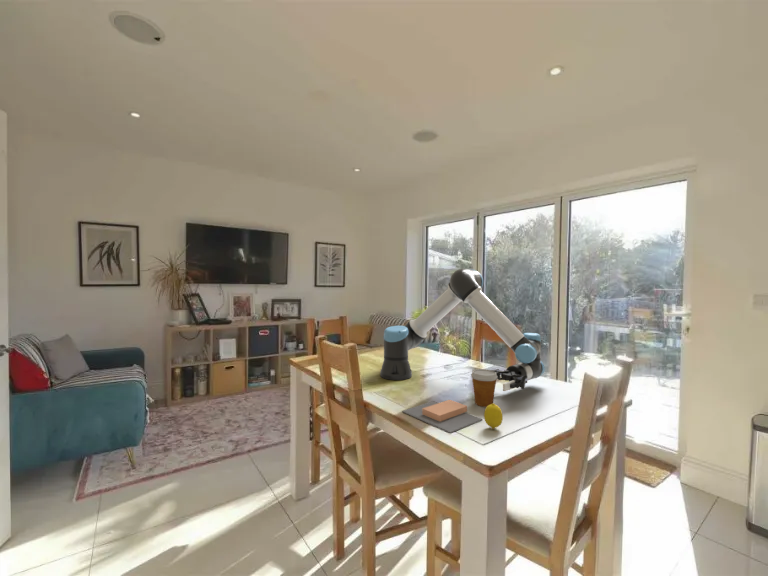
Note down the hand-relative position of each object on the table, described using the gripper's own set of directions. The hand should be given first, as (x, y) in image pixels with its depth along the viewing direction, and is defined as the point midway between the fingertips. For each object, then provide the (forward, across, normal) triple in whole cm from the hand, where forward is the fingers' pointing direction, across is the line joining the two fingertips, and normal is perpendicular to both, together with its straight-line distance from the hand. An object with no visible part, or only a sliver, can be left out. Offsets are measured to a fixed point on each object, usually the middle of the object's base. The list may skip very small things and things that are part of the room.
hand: (487, 383), depth 134 cm
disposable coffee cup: (+2, 0, -8) cm, 8 cm away
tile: (+14, +2, -6) cm, 16 cm away
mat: (+23, +2, -8) cm, 24 cm away
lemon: (+18, -15, -8) cm, 24 cm away
